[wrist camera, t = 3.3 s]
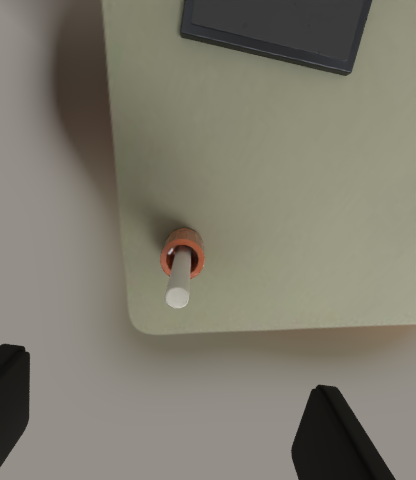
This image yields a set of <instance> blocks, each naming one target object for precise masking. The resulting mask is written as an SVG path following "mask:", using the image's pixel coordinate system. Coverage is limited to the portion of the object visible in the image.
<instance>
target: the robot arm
mask: <svg viewBox="0 0 416 480" xmlns="http://www.w3.org/2000/svg"><path fill="white" fill-rule="evenodd" d="M29 380H30V354H29V352H25V347H24V346H18V345H10V344H2V345H0V467H1V465H2V464H3V462H4V461H5V459H6V458H7V456H8V455H9V453H10V452H11V450H12V449H13V447H14V446H15V444H16V443H17V441H18V440H19V438H20V437H21V435H22V434H23V432H24V430H25V429H26V426H27V424H28V421H29V382H30V381H29ZM291 451H292V459H293V463H294V466H295V469H296V472H297V476H298V479H299V480H396V479H395V478H394V476H393V475H392V473H391V472H390V470H389V468H388V467H387V465H386V464H385V462H384V460H383V459H382V457H381V456H380V454H379V453H378V451H377V449H376V448H375V446H374V445H373V443H372V441H371V440H370V438H369V437H368V435H367V434H366V432H365V430H364V429H363V427H362V426H361V424H360V422H359V421H358V419H357V418H356V416H355V415H354V413H353V411H352V410H351V408H350V407H349V405H348V404H347V402H346V400H345V399H344V397H343V395H342V394H341V392H340V391H339V390H338V388H336V387H333V386H325V385H318V386H317V387H316V389H312V391H311V393H310V396H309V399H308V402H307V405H306V408H305V411H304V413H303V416H302V419H301V422H300V425H299V428H298V431H297V433H296V436H295V439H294V442H293V445H292V450H291Z"/></svg>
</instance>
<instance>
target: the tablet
mask: <svg viewBox="0 0 416 480" xmlns="http://www.w3.org/2000/svg"><path fill="white" fill-rule="evenodd" d="M371 3H372V0H185V3H184V11H183V18H182V25H181V37H183V38H188V39H192V40H196V41H200V42H205V43H209V44H213V45H217V46H222V47H226V48H230V49H234V50H239V51H243V52H247V53H251V54H256V55H260V56H264V57H268V58H273V59H277V60H281V61H285V62H290V63H294V64H298V65H302V66H307V67H311V68H315V69H319V70H324V71H328V72H332V73H336V74H341V75H345V76H347V75H348V74H350V73H351V72H352V69H353V65H354V62H355V58H356V55H357V51H358V48H359V44H360V41H361V37H362V34H363V30H364V27H365V23H366V20H367V16H368V13H369V9H370V6H371Z"/></svg>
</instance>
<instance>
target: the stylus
mask: <svg viewBox="0 0 416 480" xmlns="http://www.w3.org/2000/svg"><path fill="white" fill-rule="evenodd" d="M191 251H192V248H191V247H190V246H187V245H178V246H177V248H176V252H175V257H174V261H173V265H172V269H171V274H170V278H169V282H168V286H167V290H166V295H165V300H166V302H167V304H168V305H169V306H170V307H172V308H182V307H184V306H185V305H186V304H187V303H188V301H189V290H190V270H191Z"/></svg>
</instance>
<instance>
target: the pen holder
mask: <svg viewBox="0 0 416 480" xmlns="http://www.w3.org/2000/svg"><path fill="white" fill-rule="evenodd" d="M178 245H187V246H190V247H191V248H192V251H191V270H190V279H192V278H194V277H195V276H197V275H198V274H199V273H200V271H201V270H202V269H203V266H204V261H205V256H204V246H203V242H202V239H201V237H200V236H199V234H198V233H196V232H195V231H193V230H191V229H188V228H181V229H177V230H175V231H173V232H172V233H171V234H170V235H169V236H168V238H167V240H166V242H165V244H164V247H163V249H162V252H161V257H160V263H161V266H162V269H163V271H164V272H165V273H166V274H167V275H168V276H169V277H170V274H171V269H172V265H173V261H174V257H175V252H176V248H177V246H178Z"/></svg>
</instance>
